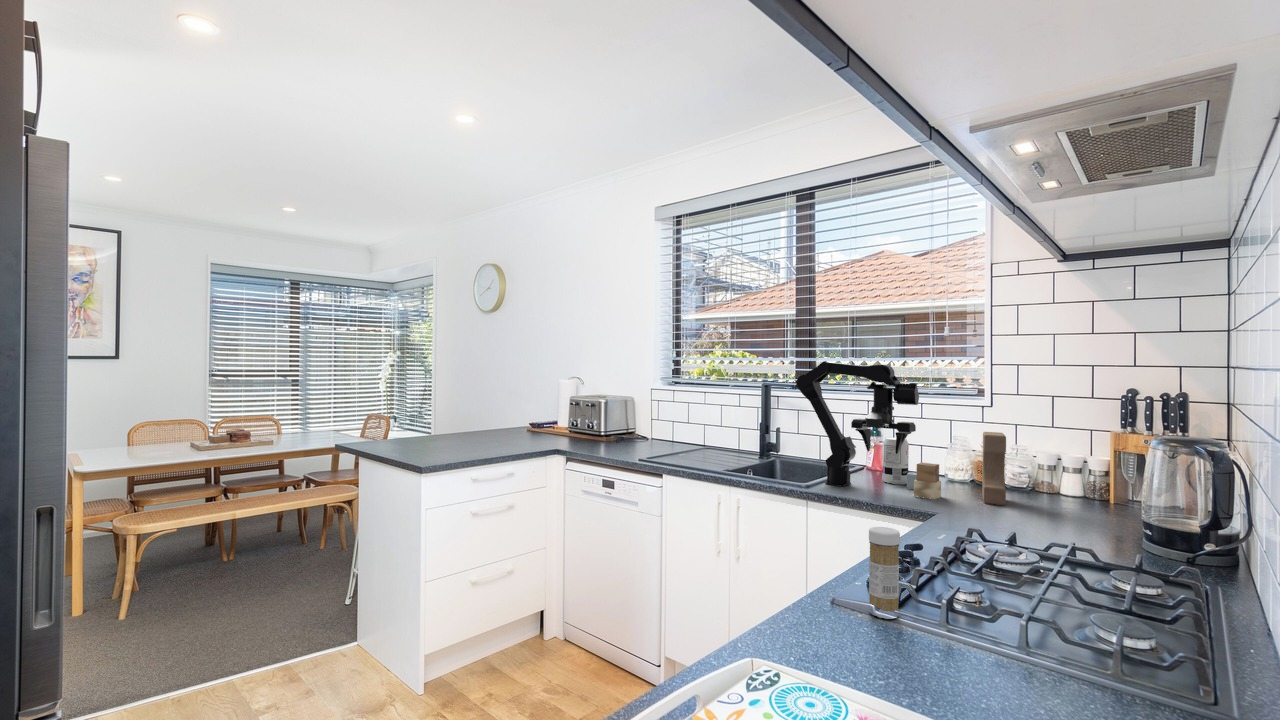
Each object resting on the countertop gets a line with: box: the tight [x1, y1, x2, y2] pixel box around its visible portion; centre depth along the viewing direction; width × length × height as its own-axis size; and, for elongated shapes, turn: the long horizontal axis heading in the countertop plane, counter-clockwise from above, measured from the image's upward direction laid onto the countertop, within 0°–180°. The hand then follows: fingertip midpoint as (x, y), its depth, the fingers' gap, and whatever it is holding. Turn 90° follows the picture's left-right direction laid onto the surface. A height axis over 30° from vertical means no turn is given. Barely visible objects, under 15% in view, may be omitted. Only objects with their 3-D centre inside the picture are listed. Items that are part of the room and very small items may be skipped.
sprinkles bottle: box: [868, 526, 901, 611], centre depth 97 cm, size 5×5×14 cm
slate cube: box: [906, 471, 917, 490], centre depth 200 cm, size 5×5×5 cm
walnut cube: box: [916, 461, 940, 483], centre depth 188 cm, size 5×5×5 cm
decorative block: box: [981, 431, 1007, 506], centre depth 183 cm, size 11×6×20 cm, turn 152°
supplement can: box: [881, 436, 910, 485], centre depth 211 cm, size 8×8×15 cm
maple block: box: [913, 480, 942, 500], centre depth 188 cm, size 6×6×5 cm
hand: (882, 452), depth 198 cm, fingers open, 9 cm apart
